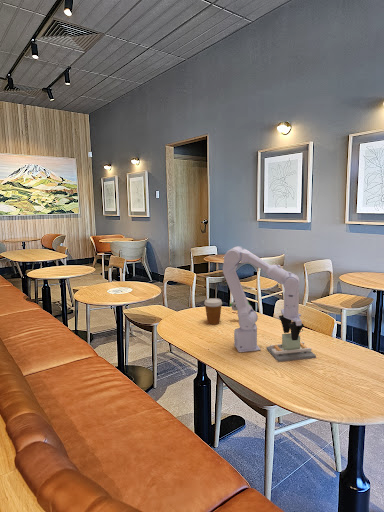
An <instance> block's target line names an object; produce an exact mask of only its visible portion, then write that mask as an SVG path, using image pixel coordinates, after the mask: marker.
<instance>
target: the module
mask: <svg viewBox="0 0 384 512" xmlns="http://www.w3.org/2000/svg"><path fill="white" fill-rule="evenodd" d="M300 342H301V336H300V335H299V337H298V340H292V338H291V332H289V333H282V335H281V344H282V348H283V349H284V350H294V349H300Z"/></svg>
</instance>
